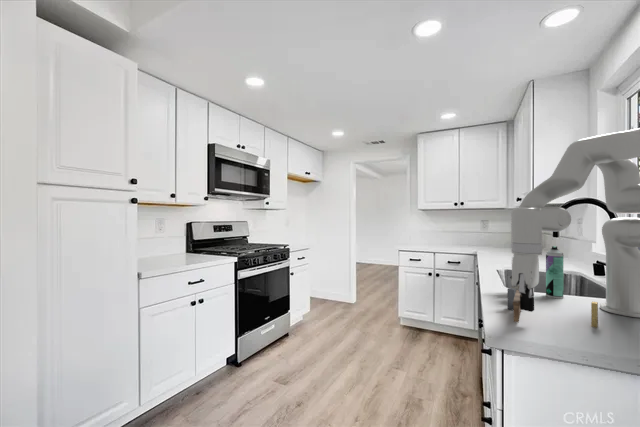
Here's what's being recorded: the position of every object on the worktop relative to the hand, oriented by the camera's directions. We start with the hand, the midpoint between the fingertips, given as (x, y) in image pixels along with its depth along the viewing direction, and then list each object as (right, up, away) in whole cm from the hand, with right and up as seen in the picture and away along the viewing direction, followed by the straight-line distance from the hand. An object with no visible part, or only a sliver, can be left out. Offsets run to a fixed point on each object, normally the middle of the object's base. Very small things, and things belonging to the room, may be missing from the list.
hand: (527, 309), depth 89 cm
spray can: (+31, -4, +29) cm, 43 cm away
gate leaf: (+1, -4, +6) cm, 7 cm away
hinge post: (+4, -4, +14) cm, 15 cm away
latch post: (+19, -4, -2) cm, 19 cm away
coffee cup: (+14, -4, +23) cm, 27 cm away
